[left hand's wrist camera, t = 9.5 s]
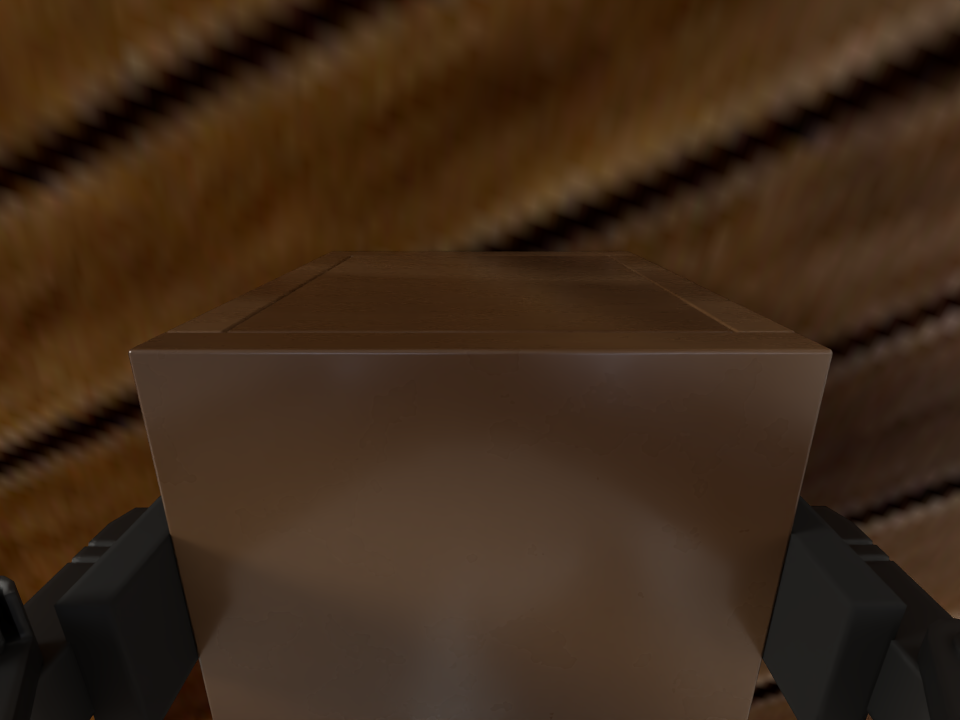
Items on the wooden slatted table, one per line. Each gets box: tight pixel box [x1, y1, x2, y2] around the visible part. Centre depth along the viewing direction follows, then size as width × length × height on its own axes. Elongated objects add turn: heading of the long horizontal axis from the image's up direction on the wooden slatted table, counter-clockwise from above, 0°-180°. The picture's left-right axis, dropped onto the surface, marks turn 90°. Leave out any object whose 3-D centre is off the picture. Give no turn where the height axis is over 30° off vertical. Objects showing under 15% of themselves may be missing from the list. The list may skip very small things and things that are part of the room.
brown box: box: [129, 252, 832, 720], centre depth 16 cm, size 18×10×11 cm, turn 0°
